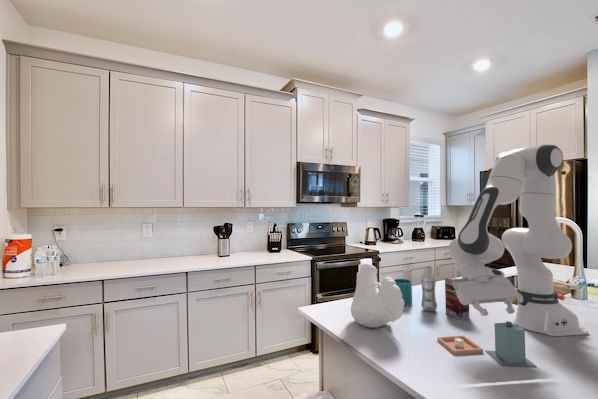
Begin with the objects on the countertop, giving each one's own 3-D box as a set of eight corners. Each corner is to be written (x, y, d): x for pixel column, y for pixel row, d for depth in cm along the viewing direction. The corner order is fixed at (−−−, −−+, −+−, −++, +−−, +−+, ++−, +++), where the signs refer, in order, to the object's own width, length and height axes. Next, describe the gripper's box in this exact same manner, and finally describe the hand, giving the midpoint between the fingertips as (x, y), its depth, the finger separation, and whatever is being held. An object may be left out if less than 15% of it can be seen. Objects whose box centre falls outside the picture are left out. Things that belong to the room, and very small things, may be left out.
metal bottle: (438, 313, 133) (437, 269, 133) (423, 312, 134) (421, 268, 135) (435, 308, 139) (434, 266, 140) (420, 307, 141) (419, 265, 141)
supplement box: (445, 313, 133) (444, 278, 133) (452, 311, 135) (451, 277, 135) (462, 320, 125) (461, 282, 125) (470, 318, 127) (469, 281, 127)
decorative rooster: (345, 318, 129) (343, 262, 130) (376, 314, 134) (375, 259, 134) (376, 344, 105) (374, 274, 106) (413, 337, 110) (411, 270, 111)
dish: (463, 340, 107) (463, 332, 107) (483, 354, 97) (483, 346, 97) (437, 342, 106) (437, 334, 106) (454, 356, 96) (454, 347, 96)
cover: (511, 353, 95) (510, 318, 96) (525, 362, 90) (524, 325, 90) (495, 354, 95) (494, 319, 95) (508, 363, 90) (507, 326, 90)
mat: (517, 353, 97) (517, 351, 97) (537, 369, 88) (536, 366, 88) (485, 353, 98) (485, 350, 98) (501, 368, 89) (501, 365, 89)
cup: (384, 302, 149) (384, 280, 149) (404, 299, 153) (403, 278, 153) (395, 308, 141) (395, 284, 141) (416, 305, 144) (415, 282, 145)
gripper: (453, 274, 105) (473, 312, 95) (506, 270, 106) (532, 307, 97) (446, 284, 109) (465, 320, 99) (498, 279, 111) (521, 315, 101)
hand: (498, 314), depth 98 cm, fingers open, 8 cm apart
